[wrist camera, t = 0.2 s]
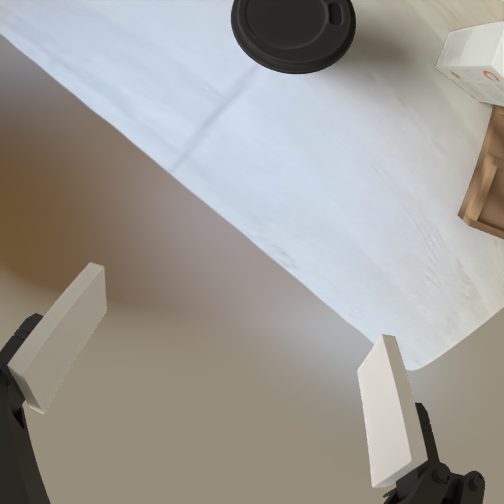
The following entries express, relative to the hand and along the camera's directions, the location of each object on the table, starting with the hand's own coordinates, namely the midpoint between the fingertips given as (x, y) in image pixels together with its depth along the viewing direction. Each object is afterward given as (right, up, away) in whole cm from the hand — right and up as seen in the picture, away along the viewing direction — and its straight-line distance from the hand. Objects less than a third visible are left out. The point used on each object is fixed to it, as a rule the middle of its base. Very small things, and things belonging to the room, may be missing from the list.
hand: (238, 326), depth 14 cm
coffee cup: (+5, +27, +16) cm, 32 cm away
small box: (+27, +27, +14) cm, 41 cm away
